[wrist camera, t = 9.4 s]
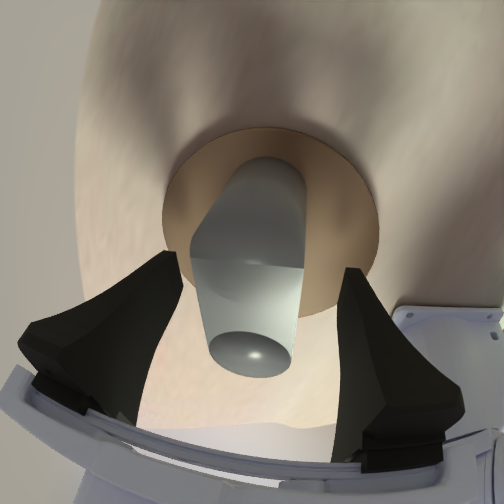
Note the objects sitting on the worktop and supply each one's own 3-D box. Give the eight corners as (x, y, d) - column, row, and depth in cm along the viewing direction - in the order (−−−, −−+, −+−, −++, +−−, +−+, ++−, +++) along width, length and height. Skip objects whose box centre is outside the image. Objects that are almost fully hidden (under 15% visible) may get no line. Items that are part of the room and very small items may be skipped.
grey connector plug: (226, 155, 12) (181, 207, 8) (309, 159, 11) (309, 215, 7) (238, 325, 18) (219, 392, 14) (292, 331, 18) (284, 401, 14)
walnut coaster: (393, 139, 11) (398, 144, 10) (353, 316, 17) (354, 326, 17) (154, 130, 12) (146, 134, 12) (185, 298, 19) (181, 307, 18)
